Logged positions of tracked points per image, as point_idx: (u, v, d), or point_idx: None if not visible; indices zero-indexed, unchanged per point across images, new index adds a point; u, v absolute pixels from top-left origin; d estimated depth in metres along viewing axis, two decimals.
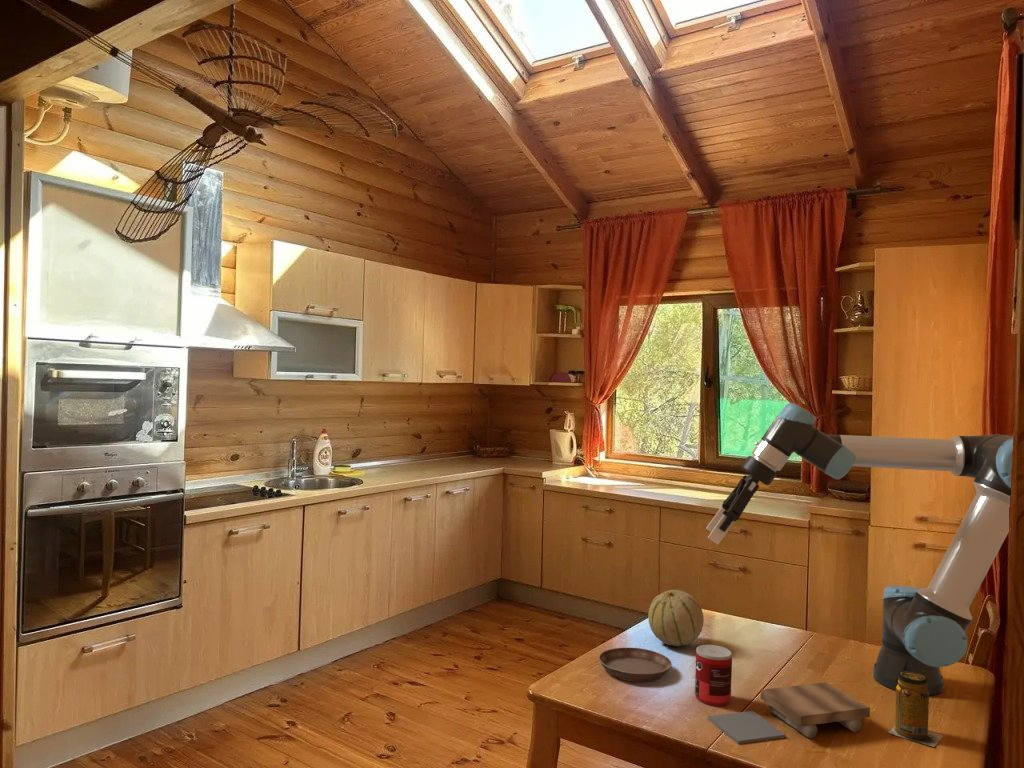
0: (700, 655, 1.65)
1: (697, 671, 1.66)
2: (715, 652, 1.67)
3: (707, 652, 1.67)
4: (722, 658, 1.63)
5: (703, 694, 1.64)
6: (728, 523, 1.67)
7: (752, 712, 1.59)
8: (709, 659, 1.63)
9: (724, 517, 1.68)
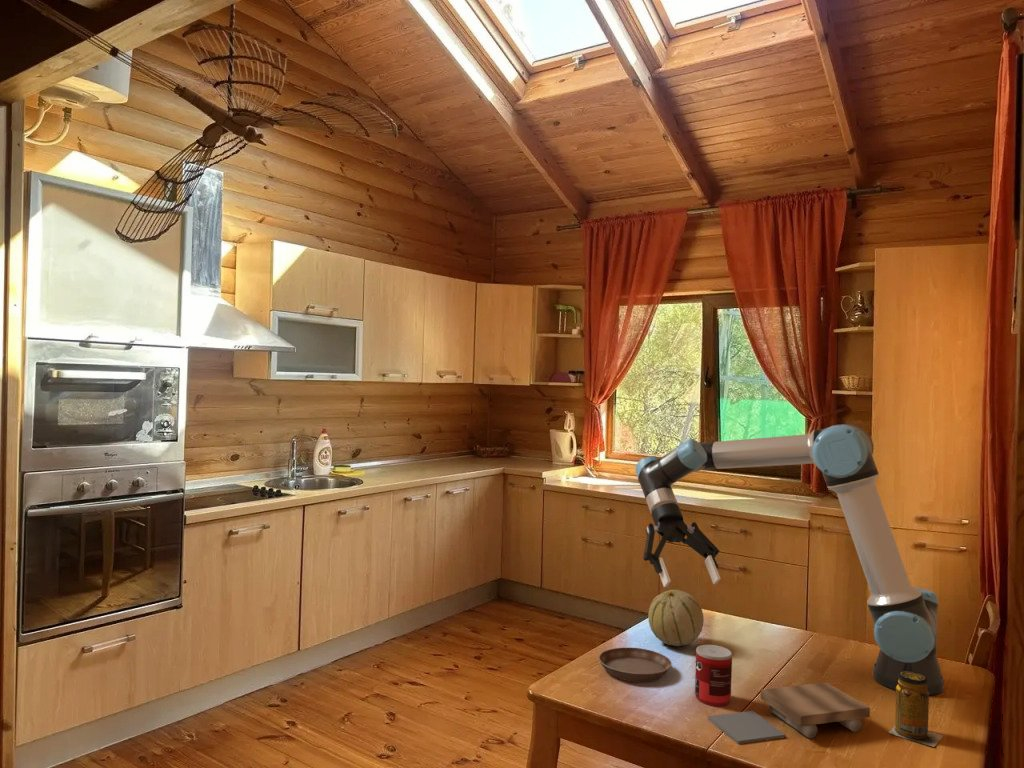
0: (700, 655, 1.65)
1: (697, 671, 1.66)
2: (715, 652, 1.67)
3: (707, 652, 1.67)
4: (722, 658, 1.63)
5: (703, 694, 1.64)
6: (655, 563, 1.80)
7: (752, 712, 1.59)
8: (709, 659, 1.63)
9: None
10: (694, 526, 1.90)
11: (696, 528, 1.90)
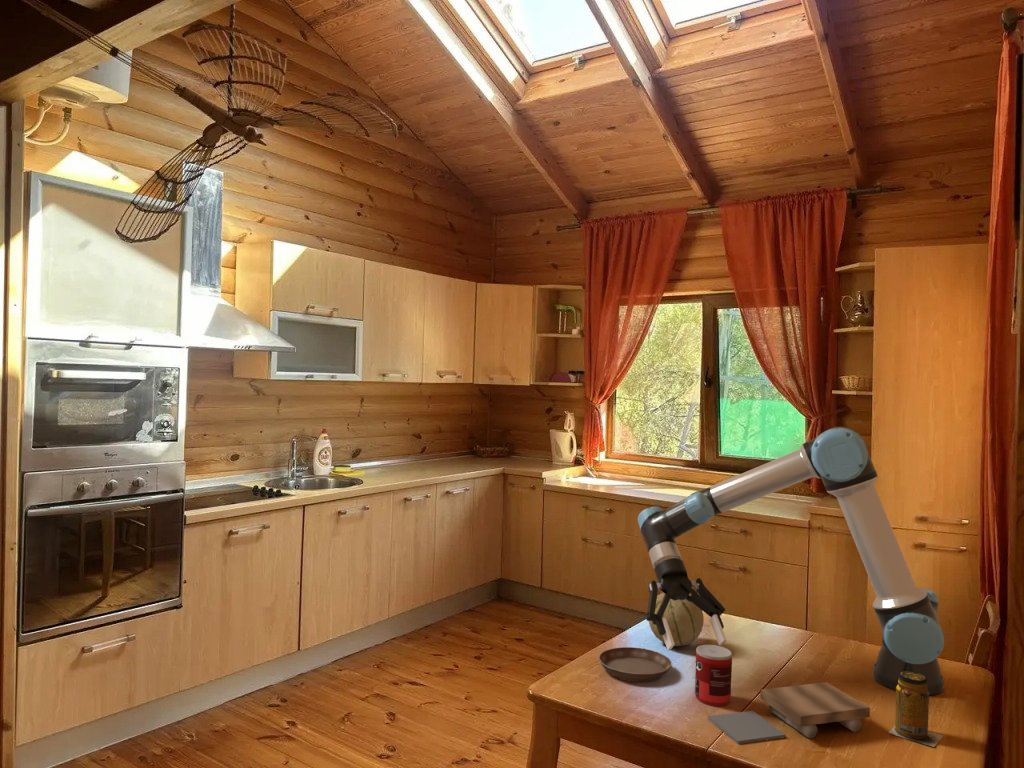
0: (700, 655, 1.65)
1: (697, 671, 1.66)
2: (715, 652, 1.67)
3: (707, 652, 1.67)
4: (722, 658, 1.63)
5: (703, 694, 1.64)
6: (658, 624, 1.73)
7: (752, 712, 1.59)
8: (709, 659, 1.63)
9: None
10: (699, 582, 1.83)
11: (701, 584, 1.83)
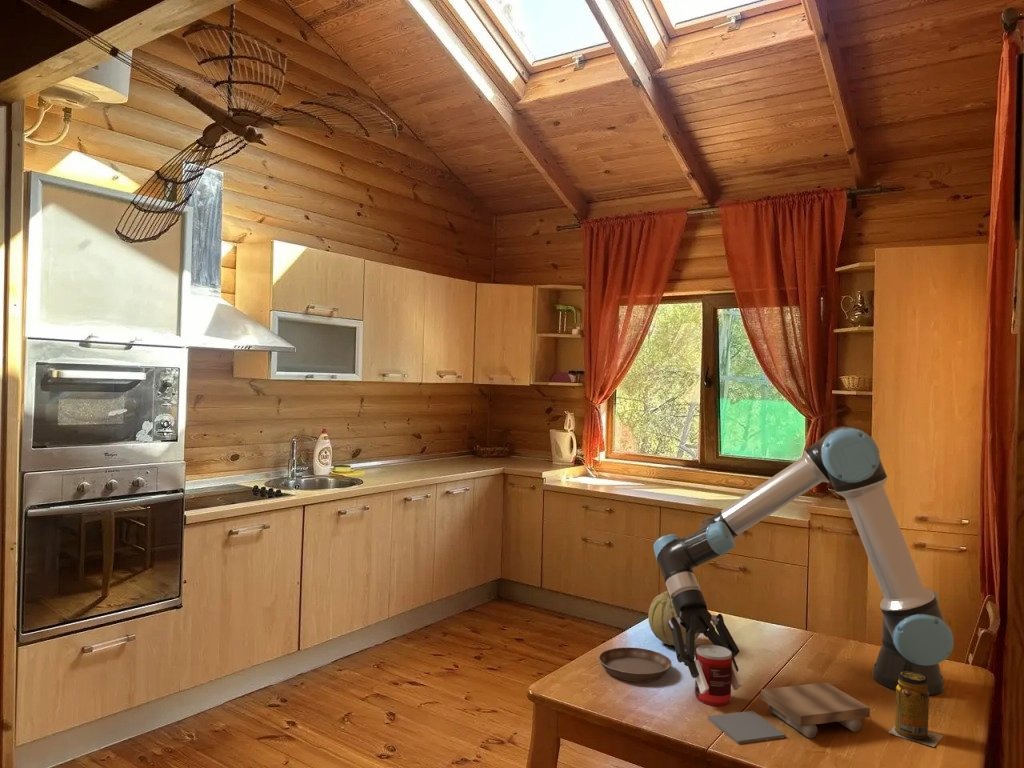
0: (700, 655, 1.65)
1: None
2: (715, 652, 1.67)
3: (707, 652, 1.67)
4: (722, 658, 1.63)
5: None
6: (690, 666, 1.65)
7: (752, 712, 1.59)
8: (709, 659, 1.64)
9: None
10: (719, 618, 1.75)
11: (721, 621, 1.75)
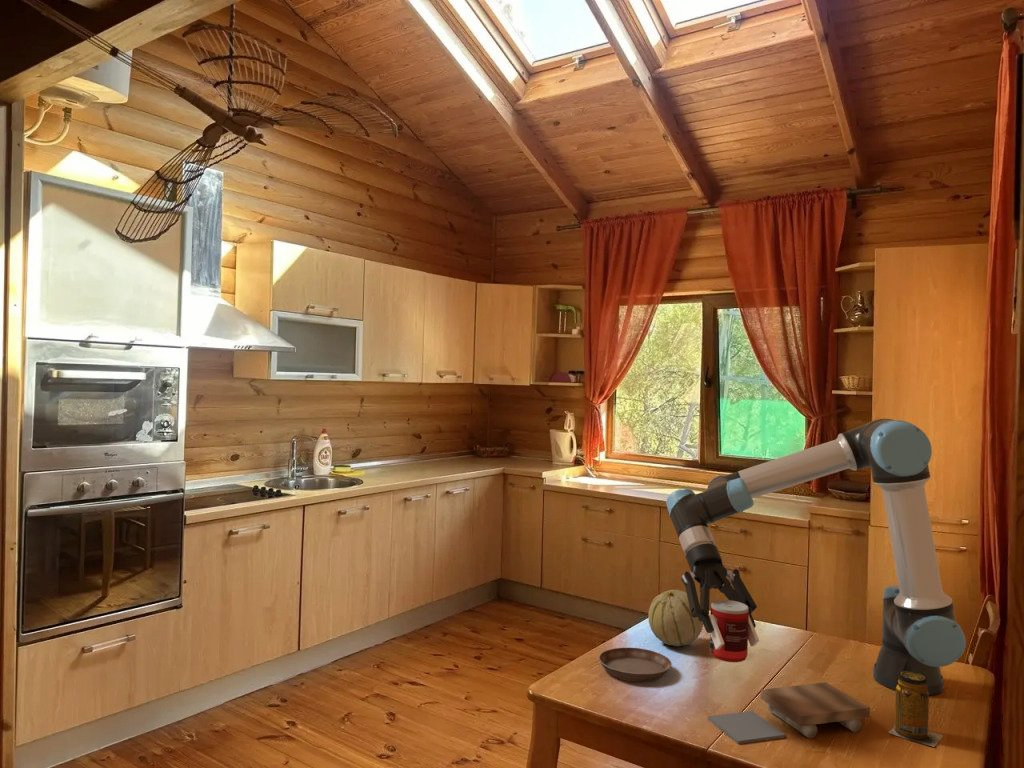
0: (714, 610, 1.58)
1: None
2: (731, 606, 1.59)
3: (722, 606, 1.59)
4: (738, 612, 1.55)
5: (718, 649, 1.57)
6: (705, 621, 1.58)
7: (752, 712, 1.59)
8: (724, 613, 1.56)
9: None
10: (735, 573, 1.67)
11: (737, 576, 1.67)
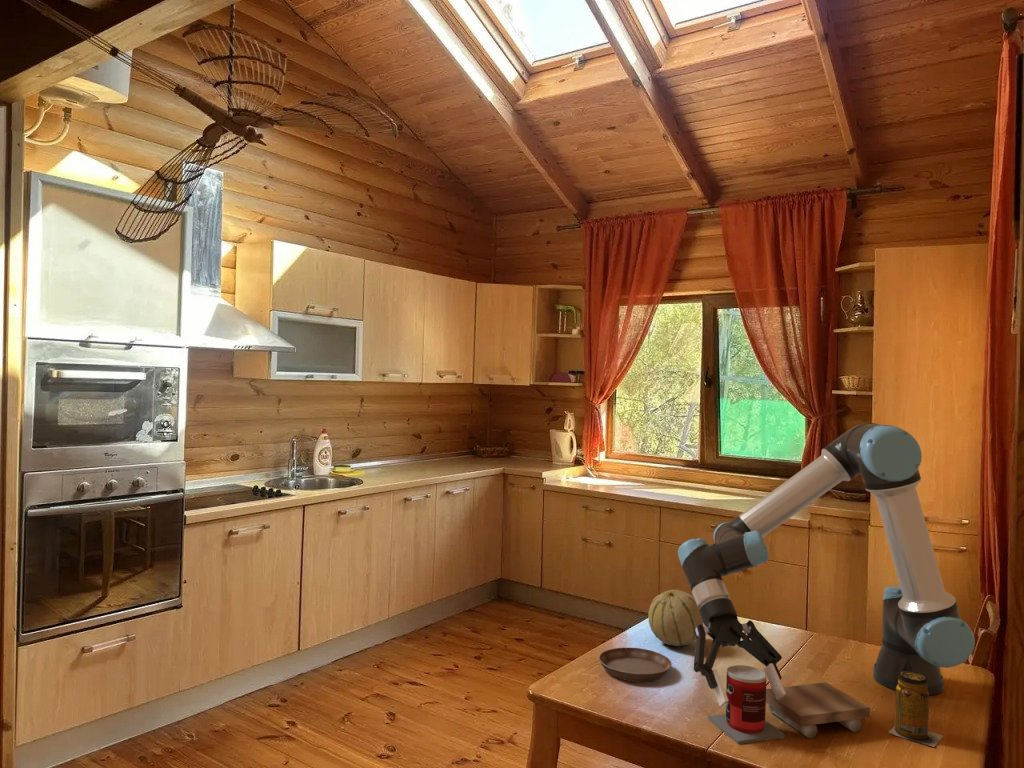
0: (731, 677, 1.52)
1: (728, 694, 1.53)
2: (748, 674, 1.53)
3: (739, 674, 1.53)
4: (756, 681, 1.49)
5: (735, 719, 1.51)
6: (708, 676, 1.52)
7: None
8: (741, 682, 1.50)
9: None
10: (750, 625, 1.62)
11: (753, 628, 1.62)
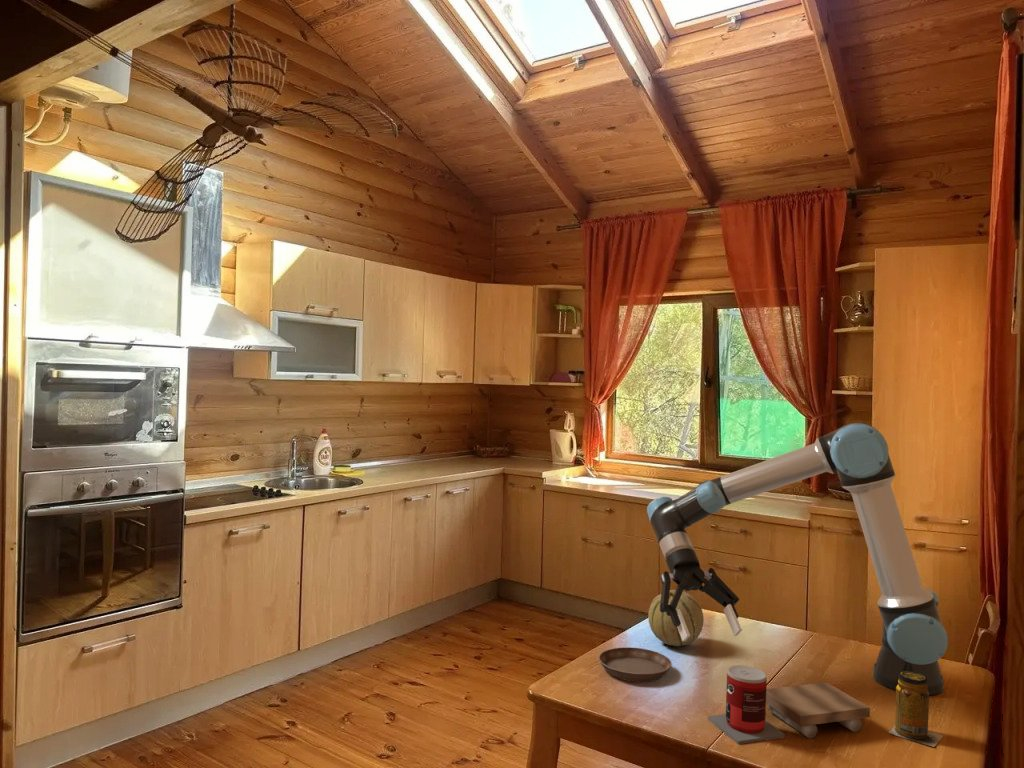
0: (731, 677, 1.52)
1: (728, 694, 1.53)
2: (748, 674, 1.53)
3: (739, 674, 1.53)
4: (756, 681, 1.49)
5: (735, 719, 1.51)
6: (672, 615, 1.70)
7: None
8: (742, 682, 1.50)
9: None
10: (711, 572, 1.80)
11: (713, 574, 1.80)
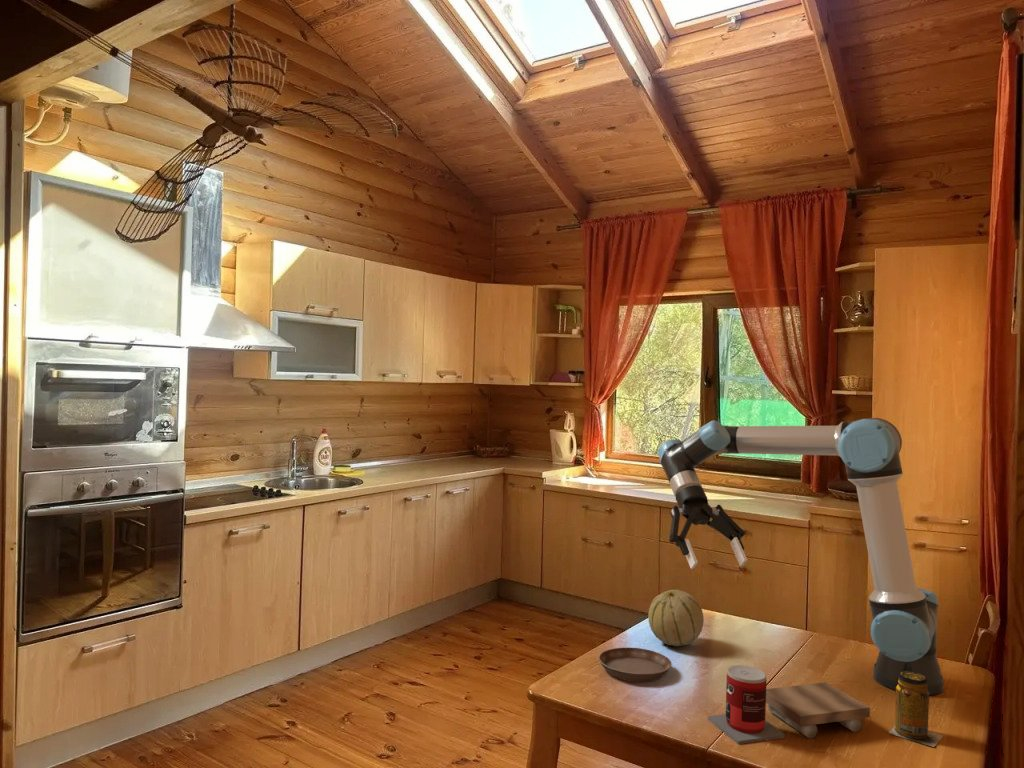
0: (731, 678, 1.52)
1: (728, 694, 1.53)
2: (748, 674, 1.53)
3: (739, 674, 1.53)
4: (756, 681, 1.49)
5: (735, 719, 1.51)
6: (681, 545, 1.79)
7: None
8: (741, 682, 1.50)
9: None
10: (719, 508, 1.89)
11: (721, 510, 1.89)
